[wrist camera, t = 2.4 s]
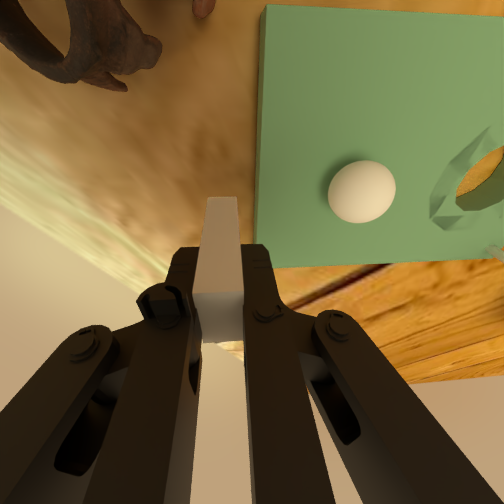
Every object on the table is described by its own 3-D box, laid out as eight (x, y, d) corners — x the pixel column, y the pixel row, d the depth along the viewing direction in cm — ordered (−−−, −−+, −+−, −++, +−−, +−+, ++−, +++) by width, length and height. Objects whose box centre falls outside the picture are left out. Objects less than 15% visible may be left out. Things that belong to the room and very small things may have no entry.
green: (252, 252, 23) (255, 269, 21) (260, 14, 12) (266, 3, 10) (471, 243, 25) (492, 258, 23) (644, 34, 14) (711, 27, 12)
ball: (327, 152, 15) (353, 173, 12) (383, 152, 15) (424, 173, 12) (315, 206, 17) (334, 235, 14) (363, 205, 17) (392, 233, 14)
